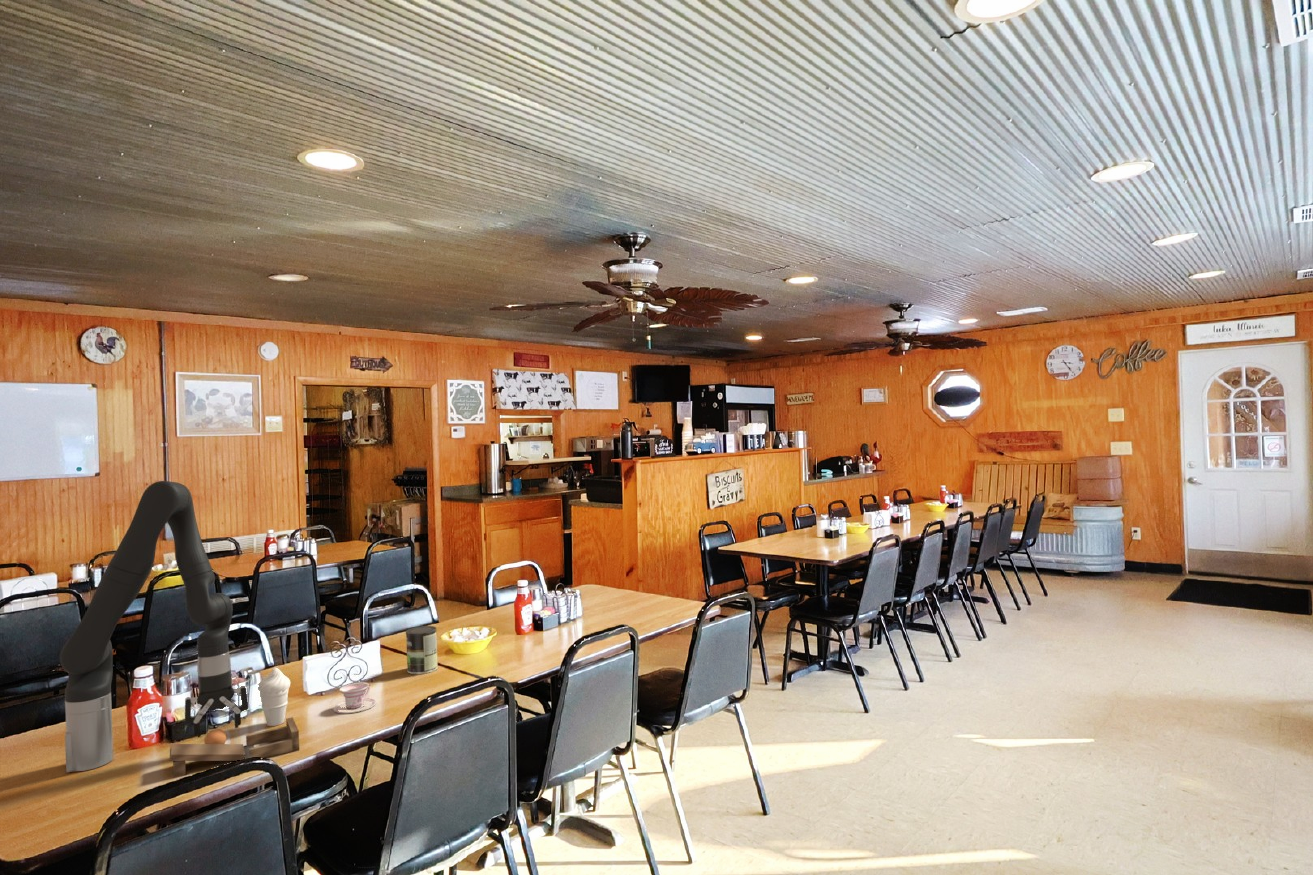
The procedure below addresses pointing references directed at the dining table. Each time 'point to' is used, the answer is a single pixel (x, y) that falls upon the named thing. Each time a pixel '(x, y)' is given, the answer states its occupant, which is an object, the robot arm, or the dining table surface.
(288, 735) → the box
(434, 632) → the coffee can
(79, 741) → the robot arm
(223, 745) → the ramp
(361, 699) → the teacup
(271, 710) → the soft serve ice cream cone
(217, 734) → the ball
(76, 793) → the dining table surface
